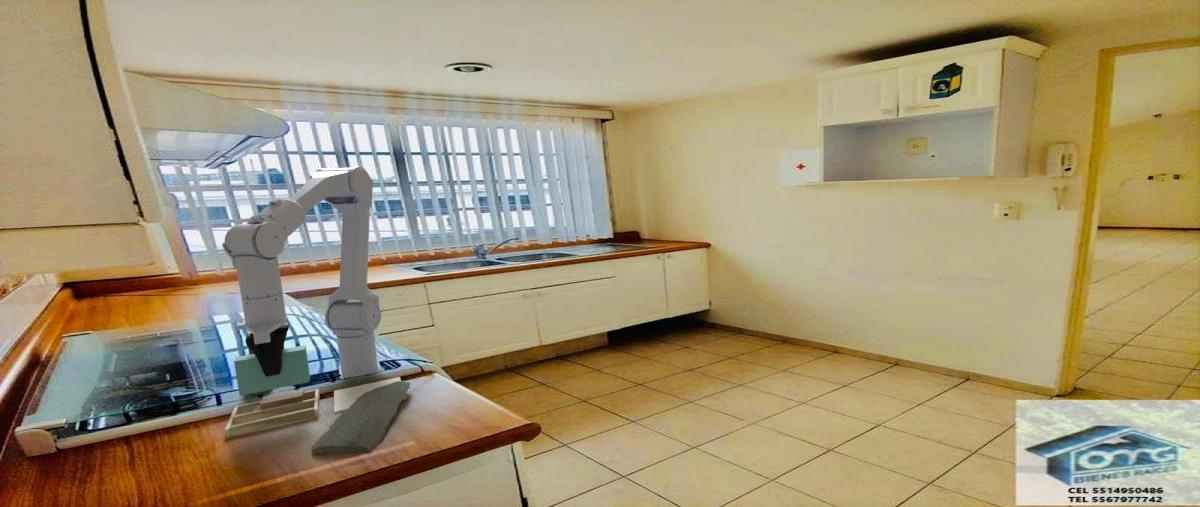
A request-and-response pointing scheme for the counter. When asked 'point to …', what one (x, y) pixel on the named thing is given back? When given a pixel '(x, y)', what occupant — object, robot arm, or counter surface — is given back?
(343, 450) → the stone slab
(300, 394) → the offcut top
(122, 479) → the counter surface
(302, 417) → the rack
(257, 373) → the board
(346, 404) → the tile
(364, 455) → the counter surface
